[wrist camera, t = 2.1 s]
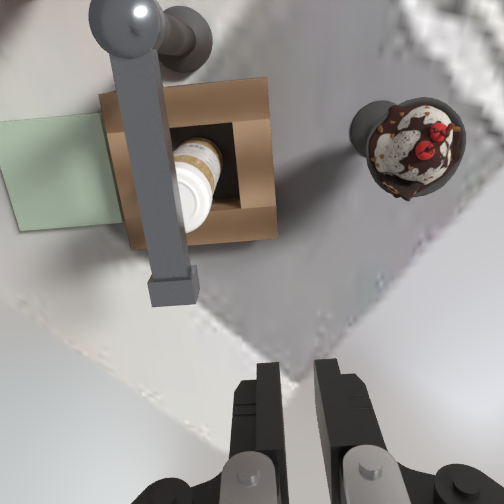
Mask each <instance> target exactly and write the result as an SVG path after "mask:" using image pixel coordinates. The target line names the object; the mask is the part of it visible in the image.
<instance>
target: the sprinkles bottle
mask: <svg viewBox="0 0 504 504" xmlns="http://www.w3.org/2000/svg"><path fill="white" fill-rule="evenodd" d="M173 155H174V161H175V168H176V174H177V181H178V187H179V193H180V200H181V206H182V213H183V219H184V225H185V232H186V233H189V232H191V231H193V230H195V229H197V228H198V227H199V226H200V225H201V224H202V223H203V222H204V221H205V219H206V217H207V215H208V213H209V211H210V208H211V204H212V196H213V193H214V190H215V187H216V184H217V182H218V179H219V176H220V174H221V172H222V168H223V156H222V153H221V151H220V150H219V148H218V147H217V146H216V144H214V143H213V142H212V141H210V140H208V139H205V138H202V137H193V138H190V139H187V140H185V141H184V142H183V143H181V144H180V145H179V147H178V148H177V149H176V150H175V151H174V152H173Z"/></svg>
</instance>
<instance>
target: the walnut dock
mask: <svg viewBox="0 0 504 504" xmlns="http://www.w3.org/2000/svg"><path fill="white" fill-rule="evenodd" d="M163 14H164V17H165V24H166V30H165V36H164V39H163V42H162V44H161V46H160V47H159V48H158V50H157V53H158V59H159V60H160V61H161V63H163V64H164V65H165V66H166V67H168V68H169V69H171V70H174V71H177V72H190V71H194V70H196V69H198V68H200V67H201V66H202V65H203V64H204V63H205V62H206V61H207V59H208V58H209V56H210V53H211V50H212V43H213V41H212V33H211V30H210V27H209V25H208V23H207V22H206V20H205V19H204V18H203V17H202V16H201V15H200V14H199V13H197V12H196V11H195V10H193V9H191V8H189V7H185V6H174V7H171V8H168V9H166V10H165V11H163ZM163 91H164V98H165V104H166V110H167V117H168V123H169V128H174V127H185V126H196V125H207V124H218V123H229V122H232V124H233V134H234V143H235V153H236V163H237V172H238V182H239V192H240V196H238V197H226V198H214V199H212V204H211V208H210V211H209V213H208V215H207V217H206V219H205V221H204V222H203V223H202V224H201V225H200V226H199V227H198V228H197V229H195V230H193V231H191V232H189V233H186V238H187V244H188V246H189V245H202V244H215V243H228V242H241V241H253V240H266V239H278V225H277V211H276V197H275V183H274V169H273V155H272V141H271V127H270V113H269V99H268V85H267V77H261V78H251V79H241V80H230V81H220V82H209V83H199V84H188V85H178V86H168V87H163ZM98 95H99V99H100V104H101V109H102V114H103V118H104V123H105V128H106V133H107V137H108V142H109V147H110V152H111V156H112V161H113V166H114V171H115V176H116V180H117V185H118V190H119V195H120V199H121V204H122V209H123V214H124V218H125V223H126V228H127V233H128V237H129V242H130V247H131V250H138V249H147V245H146V240H145V235H144V230H143V225H142V220H141V215H140V210H139V204H138V199H137V194H136V189H135V184H134V179H133V174H132V168H131V163H130V158H129V153H128V148H127V143H126V138H125V133H124V127H123V122H122V117H121V112H120V107H119V102H118V97H117V92H116V91H115V92H109V93H103V94H98Z"/></svg>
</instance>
